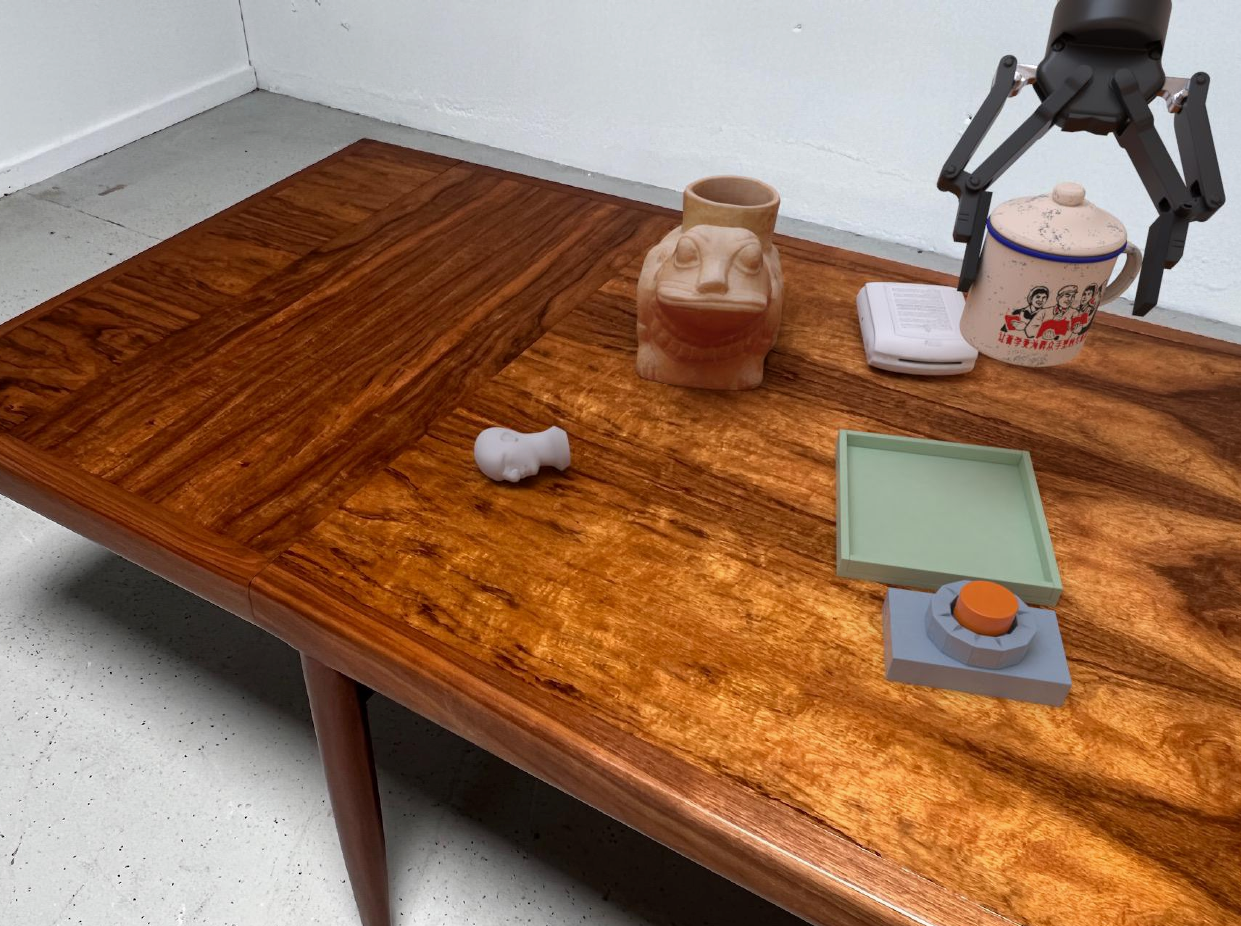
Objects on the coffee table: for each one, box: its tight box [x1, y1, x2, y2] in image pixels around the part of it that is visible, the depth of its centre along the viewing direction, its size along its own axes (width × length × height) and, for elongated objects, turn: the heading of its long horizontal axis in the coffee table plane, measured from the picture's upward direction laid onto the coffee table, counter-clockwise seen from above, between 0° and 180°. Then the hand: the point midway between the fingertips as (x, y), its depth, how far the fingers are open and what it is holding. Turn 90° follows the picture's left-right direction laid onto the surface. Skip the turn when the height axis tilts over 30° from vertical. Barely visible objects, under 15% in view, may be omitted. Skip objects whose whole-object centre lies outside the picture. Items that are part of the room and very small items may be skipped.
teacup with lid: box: [959, 181, 1143, 368], centre depth 76 cm, size 12×9×12 cm
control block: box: [881, 580, 1073, 708], centre depth 72 cm, size 11×7×4 cm, turn 77°
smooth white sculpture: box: [473, 425, 572, 483], centre depth 88 cm, size 4×8×5 cm
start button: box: [954, 581, 1019, 637], centre depth 70 cm, size 4×4×2 cm
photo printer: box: [855, 281, 979, 376], centre depth 103 cm, size 10×4×12 cm
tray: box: [834, 428, 1064, 608], centre depth 84 cm, size 15×17×2 cm
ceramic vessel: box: [635, 174, 785, 391], centre depth 101 cm, size 14×26×15 cm, turn 167°
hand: (1053, 297), depth 76 cm, fingers closed on teacup with lid, 11 cm apart
